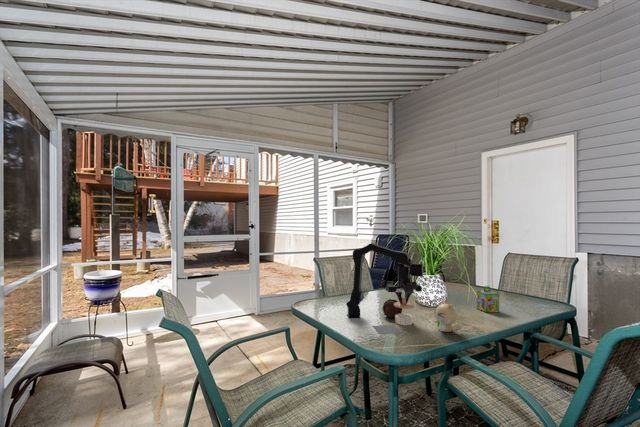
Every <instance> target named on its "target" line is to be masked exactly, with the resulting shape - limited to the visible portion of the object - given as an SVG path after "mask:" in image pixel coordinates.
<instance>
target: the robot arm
mask: <svg viewBox="0 0 640 427" xmlns="http://www.w3.org/2000/svg"><path fill="white" fill-rule="evenodd" d="M370 252H374V253H377V254H380V255H383V256H387V257H389V258H392V259H393V260H394V261H396V263H395V264H394V265H393V267H395V268H397V277H396V278H397V283H396V284H397V286H396V285H394V284H386V285H385V291H386V292H388V293H395V295H396V297H397V299H398V302H400V304H402V297H403V296H402V295H403V292H402V291H404V297H406V304H407V302H408V303H409V299H410V297H411V295H412V294H414V293H415V291H416V292H422V290H423V288H422V286H421V285H420V284H418V283H417V281H411V278H410V275H411V276H412V277H420V278H421V277H424V266H423V263H414V262H413V260H412V259H411V258H410V255H409V253H408V251H402V250H393V249H390V248H387V247H384V246H381V245H379V244H376V243H373V242H371V243H368V244H367V245H365V246H363V247H360V248H355V249H353V251H352V259H353V263H354V272H353V287H352V288H353V289H352V291H351V293H350V298H349V301H348V302H346V304H345V305H346V307H347V314H346V315H347V317H348V318H349V319H359V318H361V308H360V304H361V302H362V301H363V300H364V299H365V296H364V295H365V290H362V276H363V275H362V274H363V264H364V261H365V258H366V254H367V253H370ZM414 290H415V291H414Z"/></svg>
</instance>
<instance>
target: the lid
mask: <svg viewBox="0 0 640 427" xmlns="http://www.w3.org/2000/svg"><path fill="white" fill-rule="evenodd" d="M394 306H395V307H397V308H402V309H404V310H406V309H413V308H414V306H415V304H413V303H411V302H409V301H408V302H407V304H406V297H405V296H402V304H400V302H399V301H398V302H396V303H394Z"/></svg>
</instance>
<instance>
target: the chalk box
mask: <svg viewBox="0 0 640 427" xmlns="http://www.w3.org/2000/svg"><path fill="white" fill-rule="evenodd" d="M487 289H488V290H487ZM478 309H479V310H478ZM476 310H478V311H481V310H482V311H481V312H483V313H486V312H493V313H497V312H496V311H499V312H500V293H498V292H495V291H492V290H491V287H490V286H489V285H488V286H486V285H485V286H483V290H476Z"/></svg>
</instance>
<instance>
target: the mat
mask: <svg viewBox="0 0 640 427" xmlns="http://www.w3.org/2000/svg"><path fill="white" fill-rule="evenodd" d="M372 328H373V329H374V330H375V332H377V333H378V334H379V335H391V334H392V335H394V334H404V333H403V331H401V329H399V328H398V327H397V326H396V325H395V324H386V325H382V324H381V325H372Z"/></svg>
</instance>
